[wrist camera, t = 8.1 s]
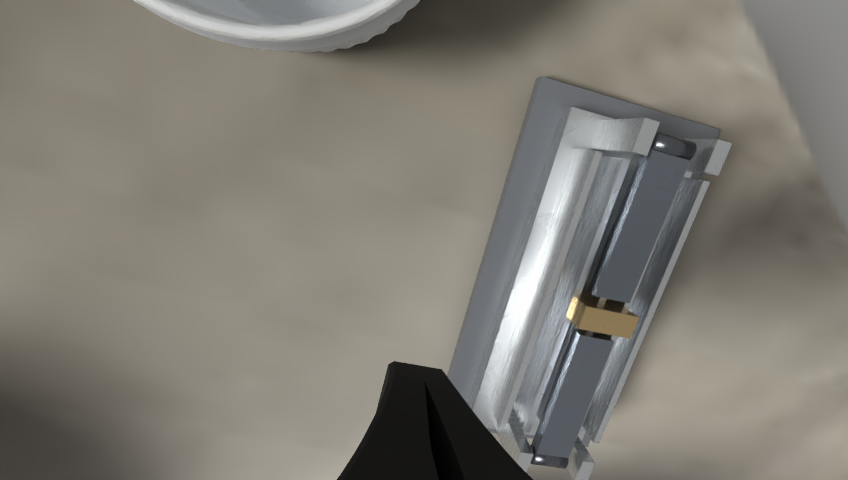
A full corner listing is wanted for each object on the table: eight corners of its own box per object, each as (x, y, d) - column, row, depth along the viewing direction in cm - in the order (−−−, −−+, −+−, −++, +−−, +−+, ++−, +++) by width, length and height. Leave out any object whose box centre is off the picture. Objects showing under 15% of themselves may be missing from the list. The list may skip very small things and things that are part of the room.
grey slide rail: (572, 428, 22) (611, 491, 18) (464, 411, 21) (481, 474, 17) (687, 144, 18) (767, 147, 14) (561, 108, 17) (611, 101, 14)
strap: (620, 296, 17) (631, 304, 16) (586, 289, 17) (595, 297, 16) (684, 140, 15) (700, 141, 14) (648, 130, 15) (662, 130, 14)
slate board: (582, 438, 23) (587, 446, 23) (435, 416, 22) (436, 424, 21) (710, 129, 19) (720, 129, 18) (536, 78, 18) (541, 76, 17)
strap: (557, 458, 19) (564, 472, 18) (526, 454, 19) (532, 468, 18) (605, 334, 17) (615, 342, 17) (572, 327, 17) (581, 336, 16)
